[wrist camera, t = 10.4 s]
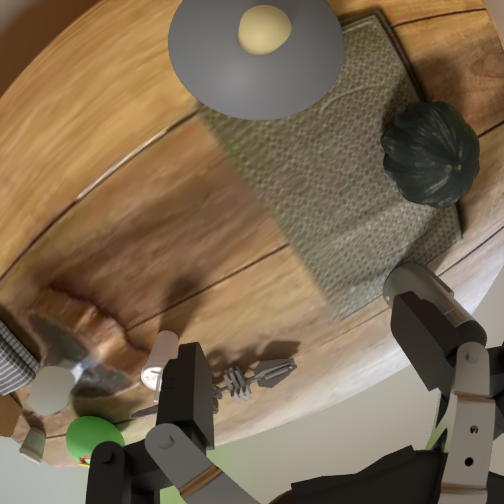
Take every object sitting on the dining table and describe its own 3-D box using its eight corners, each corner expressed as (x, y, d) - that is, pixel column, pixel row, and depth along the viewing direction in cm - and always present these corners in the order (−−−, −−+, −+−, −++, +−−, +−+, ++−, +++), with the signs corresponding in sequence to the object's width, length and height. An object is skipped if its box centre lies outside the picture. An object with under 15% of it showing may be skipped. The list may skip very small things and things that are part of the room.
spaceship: (115, 411, 46) (136, 441, 47) (292, 352, 47) (306, 388, 48) (127, 392, 54) (145, 421, 54) (284, 337, 55) (297, 370, 56)
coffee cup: (54, 438, 65) (46, 466, 54) (41, 438, 66) (33, 465, 55) (35, 423, 61) (25, 452, 51) (23, 424, 62) (14, 451, 51)
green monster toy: (74, 396, 55) (58, 445, 42) (138, 420, 60) (131, 471, 47) (72, 425, 61) (61, 467, 48) (127, 445, 66) (121, 487, 53)
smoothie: (170, 318, 47) (160, 384, 34) (193, 343, 50) (190, 408, 37) (142, 333, 48) (127, 396, 35) (165, 355, 51) (156, 418, 38)
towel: (45, 361, 50) (33, 387, 43) (15, 379, 52) (5, 400, 45) (-2, 311, 43) (-20, 334, 36) (-25, 338, 46) (-39, 358, 39)
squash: (484, 159, 34) (511, 129, 21) (436, 231, 40) (450, 229, 26) (416, 107, 39) (415, 60, 26) (369, 174, 44) (352, 149, 31)
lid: (321, -29, 21) (338, -48, 16) (352, 109, 29) (376, 110, 24) (158, -11, 21) (148, -31, 16) (187, 136, 29) (181, 140, 24)
